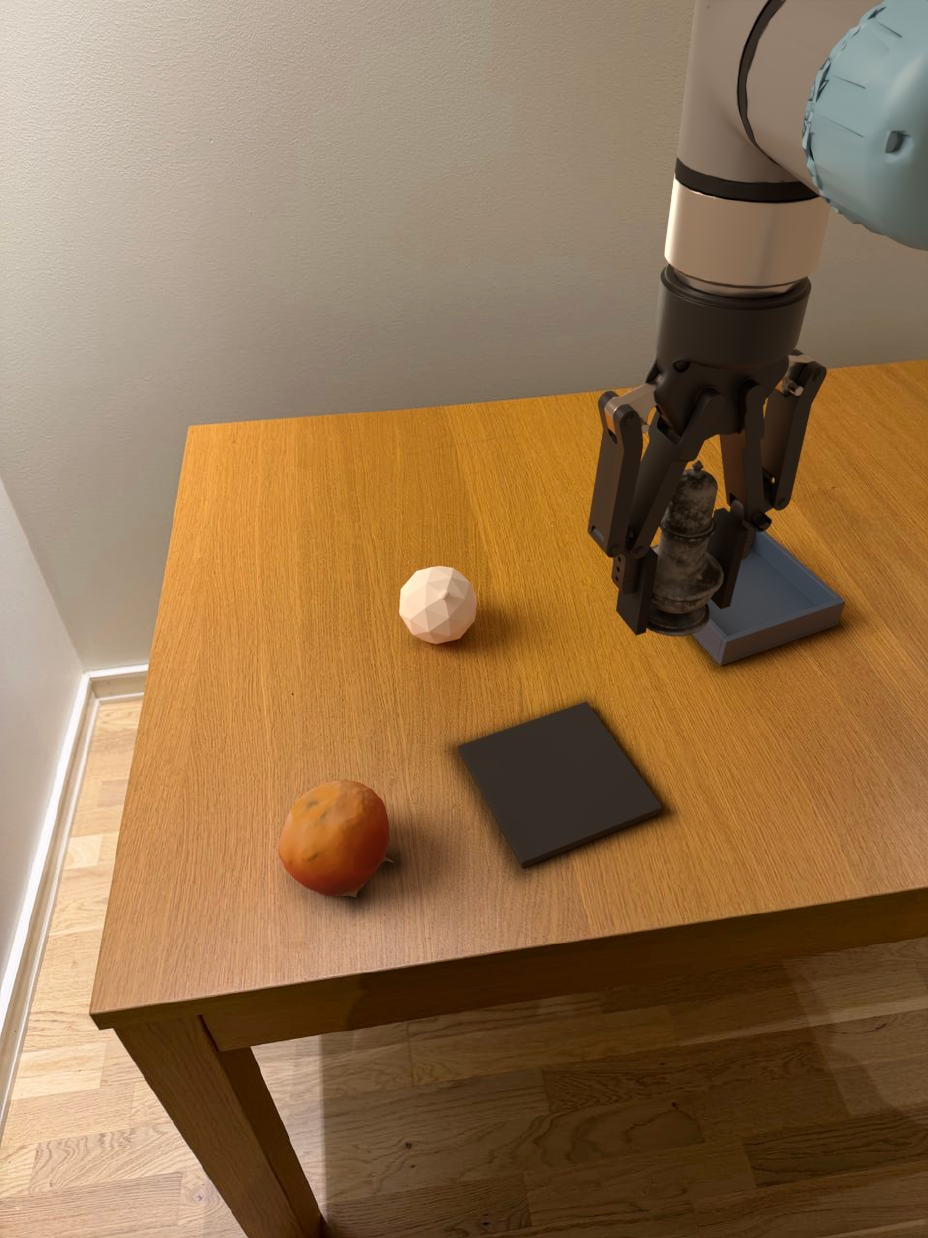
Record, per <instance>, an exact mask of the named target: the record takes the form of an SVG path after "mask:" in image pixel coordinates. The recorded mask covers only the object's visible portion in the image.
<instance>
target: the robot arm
mask: <svg viewBox="0 0 928 1238" xmlns="http://www.w3.org/2000/svg"><path fill="white" fill-rule="evenodd" d="M691 27H692V29H691V30H692V31H691V37H690V45H689V51H688V52H689V54H688V59H687V60H688V62H687V70H686V78H685V86H684V94H683V102H682V110H681V118H680V125H679V135H678V143H677V151H676V161H675V166H674V174H673V182H672V191H671V198H670V206H669V213H668V222H667V229H666V236H665V243H664V258H665V260H666V262H667V264H666V266H665V267H663V269H662V270H661V272H660V276H659V284H658V290H657V298H656V307H655V313H654V322H653V337H654V345H655V354H654V359H653V361H652V364H651V365H650V367H649V369H648V370H647V372H646V374H645V376H644V380H643V384H641V385H639V386H637V387H636V388H634V389H632V390H630V391H628V392H626V393H624V394H622V395H619V394H618V393H616V391H614V390H607V391H605V392H603V393H602V394H601V395H600V396H599V398H598V400H597V407H598V408H597V409H598V413H599V417H600V422H601V426H602V432H601V433H602V434H601V440H600V447H599V453H598V460H597V466H596V473H595V478H594V485H593V486H594V487H593V491H592V498H591V504H590V510H589V517H588V523H587V531H586V532H587V535H589V536H590V537H591V539H592V540H593V541H594V542H595V544H596V545H597V546H598V548H600V550H602V552H603V553H604V554H605V556H606V557H608V558H609V559H612V567H611V574H610V578H611V581H612V583H613V584H614V585H615V586H616V588H617V589H618V592H617V599H616V605H615V606H616V608H615V612H616V613H617V614H618V615H619V617H620V618H621V619H622V620H623V622H624V624H626V625H627V627H628V628H629V629H630V630H631V632H632V633H633V634H634V635H635V636H636V637H637V636H639V635H643V634H646V633H647V630H648V629H647V623H648V617H649V611H650V605H651V599H652V593H653V587H654V581H655V575H656V569H657V562H658V554H657V553H656V552H655V551H654V550H653V549H652V548H651V546H652V543H653V541H654V539H655V536H656V535H657V532H658V530H659V529H660V527H659V525H660V523H661V521H662V519H663V517H664V514H665V512H666V510H667V508H668V506H669V503H670V501H671V499H672V497H673V494H674V492H675V490H676V488H677V486H678V483H679V481H680V479H681V477H682V474H683V472H684V470H686V469H687V468H686V467H687V465H688V464H689V463H690V462H694V461H696V460H697V458H698V456H699V454H700V452H701V450H702V448H703V445H704V443H705V442H706V441H707V440H709V439H711V438H713V437H715V436H719V443H720V444H719V445H720V453H721V461H722V462H721V463H722V464H721V465H722V472H723V482H724V490H725V500H726V504H727V506H729V510H728V509H726V508H725V507H721V508H720V507H719V508H716V509H714V510H713V515H712V517H713V519H714V520H715V522H716V525H717V526H716V531H715V532H714V534H713V535H712V536H710V537H709V540H708V544H707V549H706V552H707V553H709V554H710V555H711V556H713V557H714V558H715V559H716V560H717V561H718V563H719V564H720V565H721V567H722V570H723V573H724V577H723V583H722V584H721V586H720V588H719V589H718V590H717V591H716V592H715V593H714V594H713V596H712V597H711V600H712V601H713V602H714V603H715V604H716V605H717V606H718V607H719V608H720V609H724V608H727V607H730V605H731V600H732V596H733V592H734V588H735V584H736V580H737V576H738V572H739V568H740V564H741V560H743V559H746V557H747V556H748V554H749V552H750V549H751V545H752V540H753V537H754V533H755V530H756V531H757V532H764V531H767V530H768V529H769V528H771V526H772V524H773V519H772V518H771V517H769V515H768V514H766V513H768V512H769V511H771V510H772V509H774V510H775V511H776V512H780V511H782V510H784V509H786V508H787V507H788V506H789V504H790V502H791V499H792V496H793V490H794V485H795V481H796V477H797V473H798V468H799V463H800V459H801V455H802V450H803V445H804V441H805V437H806V432H807V427H808V423H809V417H810V413H811V410H812V404H814V403H813V402H814V401H815V398H816V396H817V395H818V393H819V391H820V389H821V387H822V385H823V383H824V381H825V379H826V377H827V374H828V369H827V368H826V367H825V366H824V365H823V364H821V363H819V362H818V361H816V360H815V359H813V358H812V357H810V356H809V355H807V354H806V353H804V352H802V351H801V350H799V349H797V348H796V347H797V346H798V343H799V340H800V335H801V331H802V328H803V323H804V319H805V315H806V311H807V307H808V303H809V299H810V295H811V291H812V282H811V280H810V278H809V276H810V275H811V274H812V273H814V272H815V271H816V270H817V267H818V263H819V260H820V255H821V252H822V247H823V243H824V240H825V235H826V231H827V226H828V222H829V218H830V213H831V209H833V211H834V212H835V213H836V214H837V215H843V217H845V219H846V220H847V221H848V222H849V223H851V224H853V225H862V226H863V228H865V229H866V230H867V231H868V232H870V233H873V234H876V235H880V236H885V237H886V238H889V239H890V240H892V241H894V242H896V243H898V244H900V245H902V246H904V247H906V248H909V249H914V250H917V251H923V252H928V0H695V4H694V12H693V20H692V26H691ZM765 405H766V406H765ZM764 406H765V411H764ZM654 408H655V411H654V414H653V416H652V418H651V421H650V424H649V423H648V421H649V420H648V419H649V415H650V413H651V411H652V410H653V409H654ZM646 433H647V436H648V442H647V443H648V444H647V446H646V448H645V451H644V453H643V450H644V436H643V435H644V434H646Z"/></svg>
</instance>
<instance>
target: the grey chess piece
mask: <svg viewBox="0 0 928 1238" xmlns="http://www.w3.org/2000/svg"><path fill="white" fill-rule="evenodd" d="M691 467H692V468H685V470H684V472H683V474H682V477H681V479H680V481H679V483H678V486H677V488H676V490H675V492H674V494H673V497H672V499H671V501H670V503H669V506H668V508H667V510H666V512H665V514H664V517H663V519H662V521H661V523H660V525H659V529H660V537H659V542H658V544H655V545H650V547H651V548H652V549H653V550H654V551H655V552H656V553H657V554H658V562H657V569H656V575H655V581H654V587H653V593H652V599H651V605H650V611H649V617H648V623H647V629H646V630H649V631H650V632H652V633H655V634H658V635H662V636H666V637H678V638H679V637H687V636H693V635H692V634H694V633H696V632H699V631H700V630H702V629H703V628H704V627H705V626H706V625H707V623H708V621H709V618H710V610H709V606H708V604H707V602H708V601H709V600H710V599H711V597H712V596H713V594H714V593H715V592H716V591H717V590H718V589H719V588H720V586H721V584H722V583H723V577H724V573H723V570H722V567H721V565H720V564H719V563H718V561H717V560H716V559H715V558H714V557H713V556H711V555H710V554H709V553H707V552H706V549H707V544H708V540H709V537H710V536H712V535H713V534H714V532H715V531H716V526H717V525H716V522H715V520H714V519H713V515H714V510H715V504H716V500H717V497H718V496H717V495H718V492H719V484H718V481H717V479H716V478H715V476H714V475H713V474H712V473H710V472H708V471H706V470H704V464H703V463H702V461H701V460H700V459H698V460H697V461H695V462H694V463H692V465H691Z"/></svg>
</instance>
